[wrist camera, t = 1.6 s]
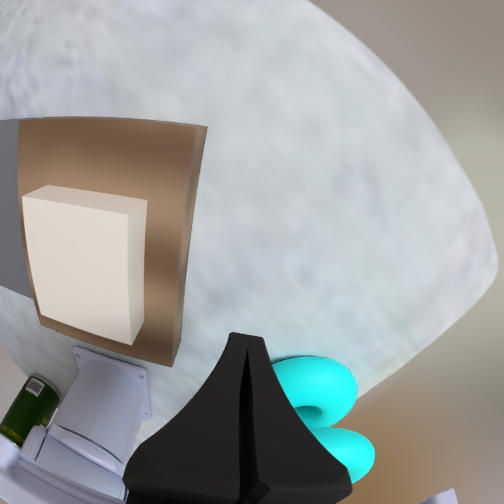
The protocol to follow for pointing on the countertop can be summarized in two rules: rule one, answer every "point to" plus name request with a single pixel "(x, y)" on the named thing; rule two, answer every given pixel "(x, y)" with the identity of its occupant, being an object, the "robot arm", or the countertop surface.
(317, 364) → the donuts
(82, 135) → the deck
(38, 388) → the beer can
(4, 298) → the countertop surface
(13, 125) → the mat
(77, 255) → the tile
